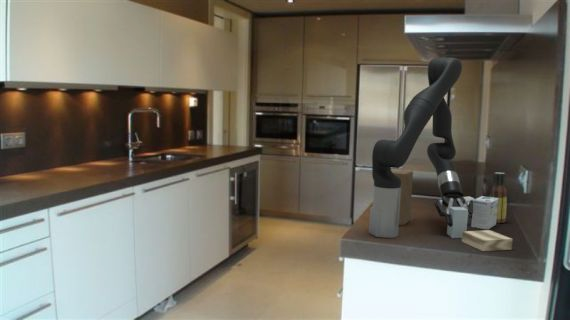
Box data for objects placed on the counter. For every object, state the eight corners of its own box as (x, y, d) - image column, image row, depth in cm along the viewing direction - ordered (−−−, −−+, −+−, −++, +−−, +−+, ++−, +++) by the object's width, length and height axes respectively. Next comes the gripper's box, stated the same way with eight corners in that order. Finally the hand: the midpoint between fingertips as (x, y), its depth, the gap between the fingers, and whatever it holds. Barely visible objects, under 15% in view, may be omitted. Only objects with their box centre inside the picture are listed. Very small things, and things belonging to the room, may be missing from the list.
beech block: (483, 251, 156) (483, 240, 156) (461, 241, 167) (462, 231, 167) (511, 249, 160) (512, 238, 159) (489, 239, 170) (489, 230, 170)
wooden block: (410, 220, 194) (413, 170, 192) (403, 226, 186) (406, 173, 183) (385, 217, 199) (388, 168, 197) (377, 222, 191) (380, 171, 188)
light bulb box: (479, 222, 196) (481, 195, 195) (496, 225, 192) (499, 197, 191) (470, 227, 188) (472, 199, 186) (488, 230, 184) (491, 201, 182)
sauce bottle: (501, 219, 201) (505, 171, 198) (508, 223, 194) (512, 174, 192) (485, 219, 200) (489, 171, 198) (492, 223, 194) (496, 173, 192)
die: (466, 213, 213) (454, 196, 212) (484, 206, 208) (472, 188, 207) (463, 223, 207) (451, 205, 206) (482, 217, 202) (469, 198, 201)
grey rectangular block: (451, 237, 171) (453, 209, 170) (446, 233, 176) (448, 206, 175) (466, 238, 171) (468, 210, 170) (460, 234, 176) (462, 206, 175)
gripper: (433, 179, 179) (441, 219, 168) (472, 180, 179) (483, 220, 169) (427, 191, 185) (435, 230, 174) (465, 192, 185) (476, 231, 175)
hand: (459, 225), depth 172 cm, fingers closed on grey rectangular block, 5 cm apart
